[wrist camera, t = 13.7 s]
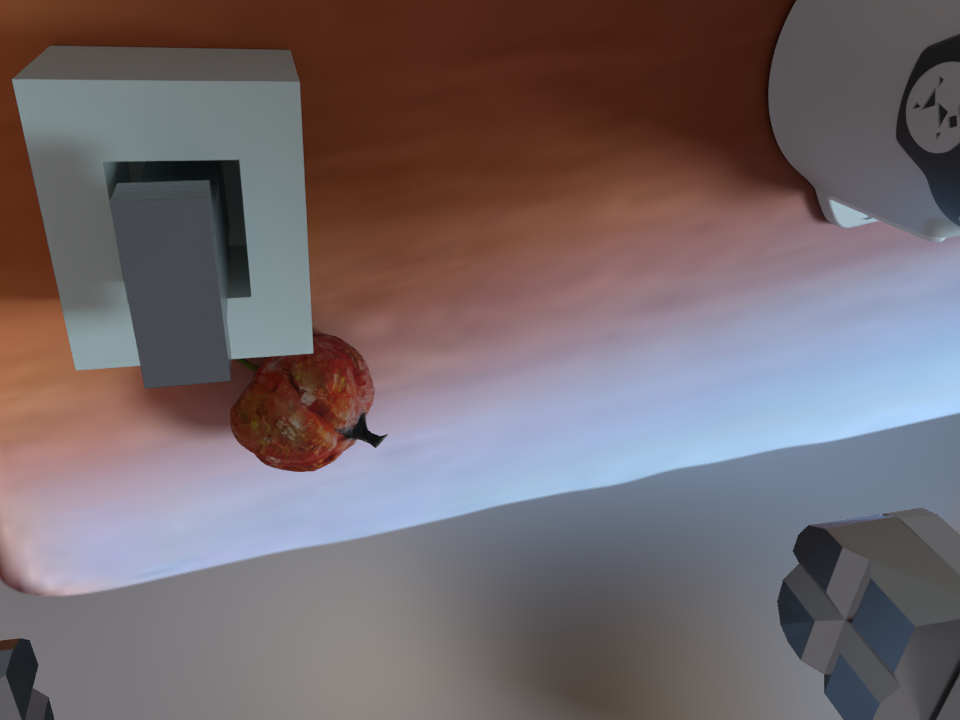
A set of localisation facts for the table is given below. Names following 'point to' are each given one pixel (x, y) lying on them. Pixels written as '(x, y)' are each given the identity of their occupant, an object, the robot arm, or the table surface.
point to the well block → (170, 137)
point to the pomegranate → (306, 406)
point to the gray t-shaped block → (176, 270)
